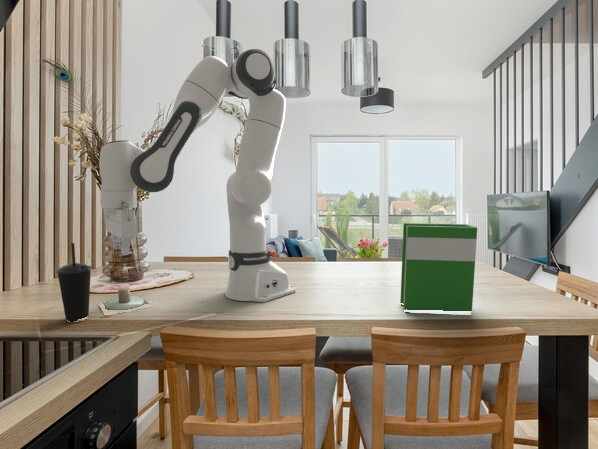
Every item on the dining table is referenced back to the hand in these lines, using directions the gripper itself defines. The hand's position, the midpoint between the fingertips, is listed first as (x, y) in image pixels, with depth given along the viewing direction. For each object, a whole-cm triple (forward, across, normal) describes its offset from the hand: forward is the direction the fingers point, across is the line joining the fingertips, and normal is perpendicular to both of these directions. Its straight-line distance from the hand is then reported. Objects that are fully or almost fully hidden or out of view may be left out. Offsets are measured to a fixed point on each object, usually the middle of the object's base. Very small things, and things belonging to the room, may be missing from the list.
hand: (121, 251), depth 104 cm
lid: (+15, 0, 0) cm, 16 cm away
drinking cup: (+16, -4, +12) cm, 20 cm away
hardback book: (+15, -53, -69) cm, 89 cm away
